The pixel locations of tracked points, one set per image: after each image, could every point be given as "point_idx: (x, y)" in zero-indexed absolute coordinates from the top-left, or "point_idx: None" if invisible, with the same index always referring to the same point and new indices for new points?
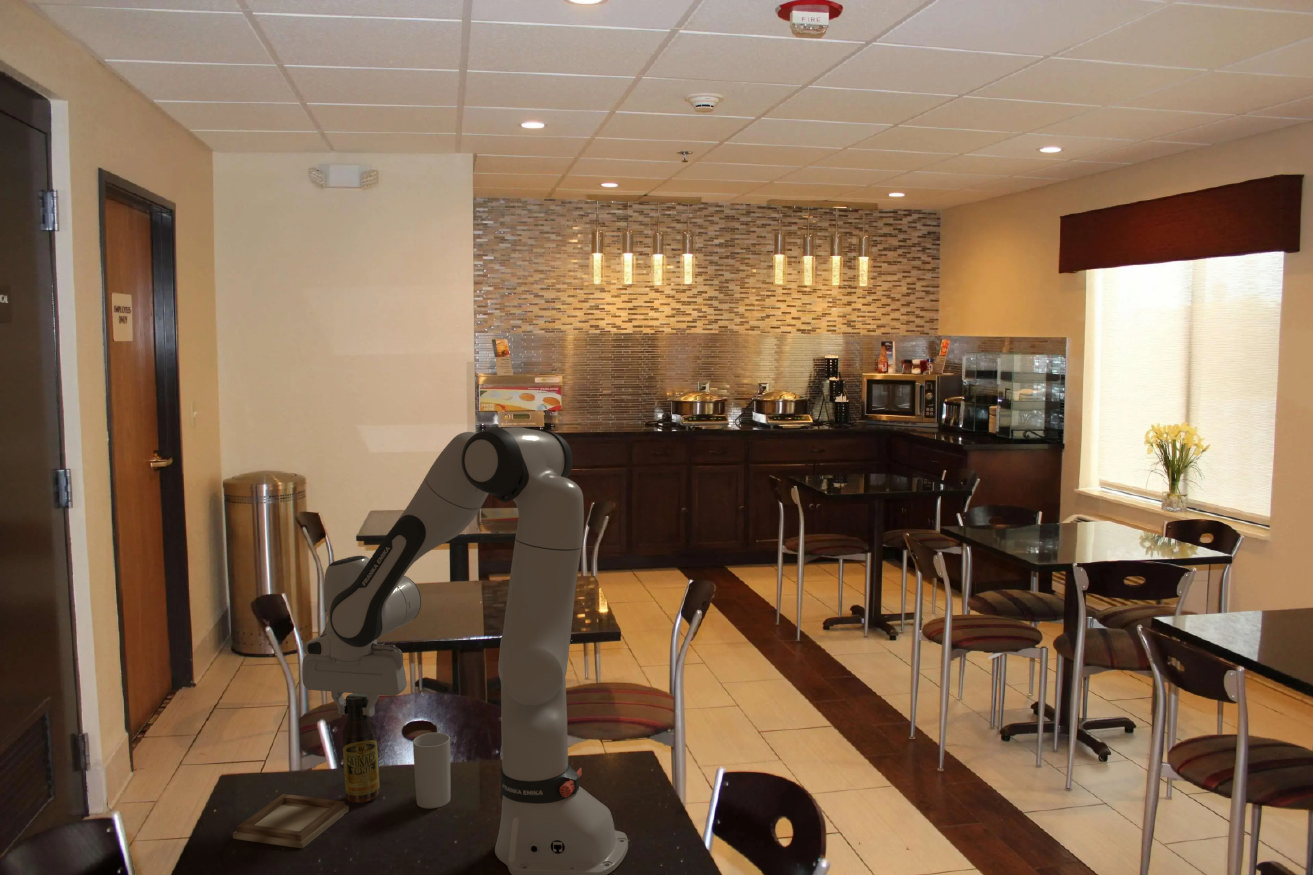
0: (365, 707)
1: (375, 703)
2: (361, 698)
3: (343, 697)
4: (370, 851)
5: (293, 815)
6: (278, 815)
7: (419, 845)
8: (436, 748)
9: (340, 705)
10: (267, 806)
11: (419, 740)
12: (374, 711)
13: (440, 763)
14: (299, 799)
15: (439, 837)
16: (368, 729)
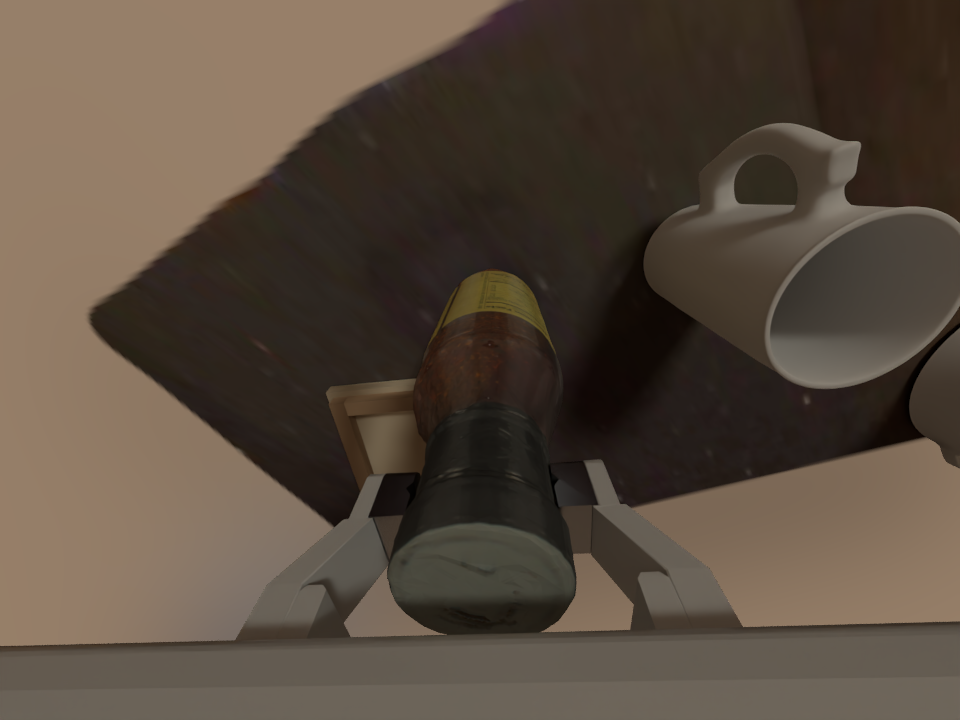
0: (580, 548)
1: (634, 511)
2: (559, 615)
3: (339, 551)
4: (641, 473)
5: (418, 443)
6: (389, 451)
7: (730, 433)
8: (890, 356)
9: (388, 564)
10: (351, 455)
11: (766, 288)
12: (604, 468)
13: (836, 317)
14: (387, 412)
15: (764, 398)
16: (552, 424)
